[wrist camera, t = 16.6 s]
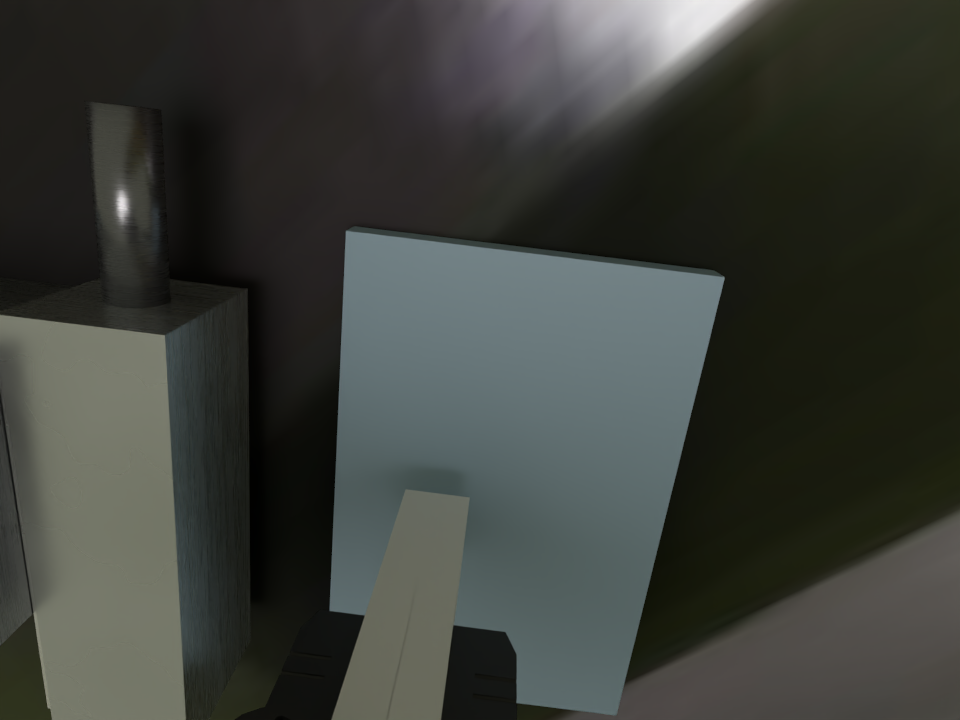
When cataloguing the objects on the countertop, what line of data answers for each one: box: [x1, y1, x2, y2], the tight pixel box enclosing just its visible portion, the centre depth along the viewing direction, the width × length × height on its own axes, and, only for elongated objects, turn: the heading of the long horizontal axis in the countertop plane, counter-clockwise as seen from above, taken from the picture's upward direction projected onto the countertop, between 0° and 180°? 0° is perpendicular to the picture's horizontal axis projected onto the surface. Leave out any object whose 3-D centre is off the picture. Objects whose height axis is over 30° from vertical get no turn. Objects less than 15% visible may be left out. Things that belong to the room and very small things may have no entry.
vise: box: [330, 226, 725, 715], centre depth 15 cm, size 13×23×5 cm, turn 84°
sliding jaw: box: [0, 101, 251, 720], centre depth 14 cm, size 14×3×4 cm, turn 174°
